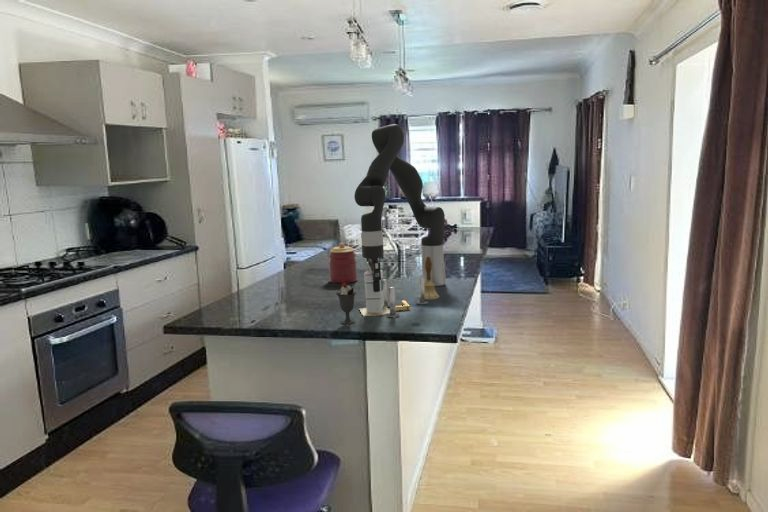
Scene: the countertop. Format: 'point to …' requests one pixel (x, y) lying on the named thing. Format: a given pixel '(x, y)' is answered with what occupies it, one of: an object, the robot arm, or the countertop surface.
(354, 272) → the canister
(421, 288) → the grey rods with bases
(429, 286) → the whisk broom
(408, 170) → the robot arm
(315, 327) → the countertop surface
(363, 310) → the pad
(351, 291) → the sundae
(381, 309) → the syrup box
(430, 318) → the countertop surface
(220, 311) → the countertop surface
